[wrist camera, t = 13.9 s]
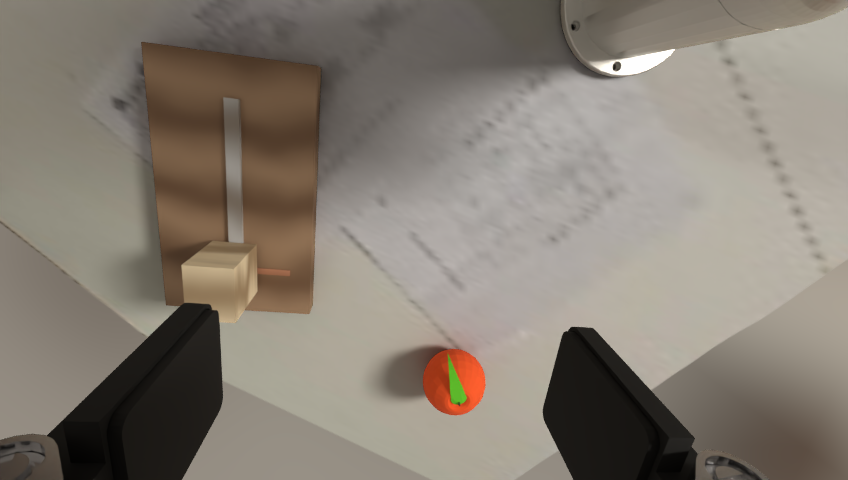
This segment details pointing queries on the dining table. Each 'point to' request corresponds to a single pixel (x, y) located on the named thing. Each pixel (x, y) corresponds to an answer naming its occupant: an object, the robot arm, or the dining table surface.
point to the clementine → (454, 382)
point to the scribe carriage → (222, 278)
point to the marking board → (236, 165)
